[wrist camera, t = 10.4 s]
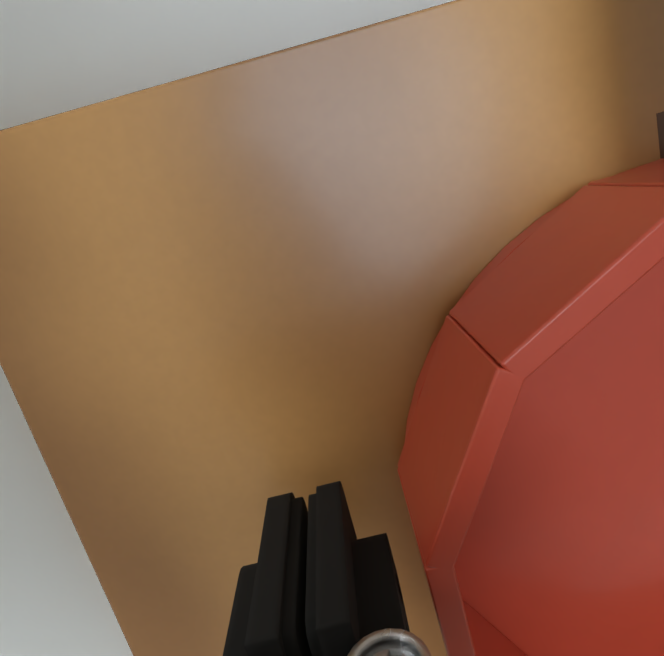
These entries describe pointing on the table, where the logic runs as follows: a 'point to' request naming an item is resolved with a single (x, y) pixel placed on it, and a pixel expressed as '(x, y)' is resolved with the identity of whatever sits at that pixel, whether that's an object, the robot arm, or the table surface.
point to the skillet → (550, 437)
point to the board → (287, 275)
